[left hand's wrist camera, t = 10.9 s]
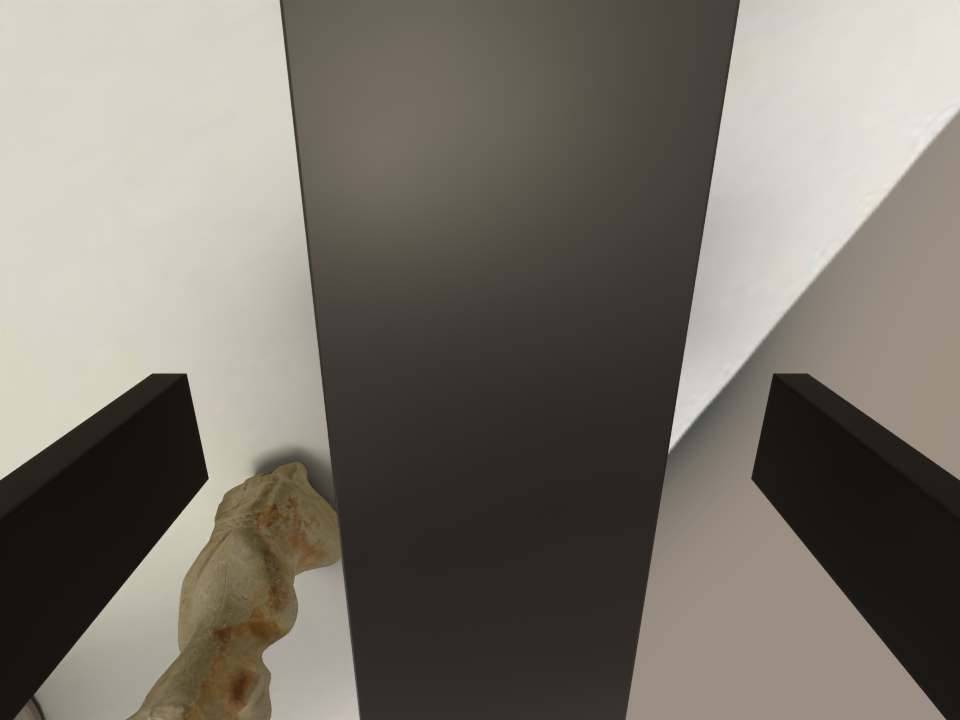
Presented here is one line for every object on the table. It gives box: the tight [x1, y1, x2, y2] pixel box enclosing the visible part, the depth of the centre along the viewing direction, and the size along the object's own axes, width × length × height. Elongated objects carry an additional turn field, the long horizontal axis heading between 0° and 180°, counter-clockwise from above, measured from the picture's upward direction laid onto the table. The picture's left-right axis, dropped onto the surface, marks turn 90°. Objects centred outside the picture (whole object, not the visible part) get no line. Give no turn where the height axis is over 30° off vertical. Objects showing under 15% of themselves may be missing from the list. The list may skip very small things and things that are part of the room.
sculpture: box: [127, 462, 342, 720], centre depth 26 cm, size 6×7×15 cm
